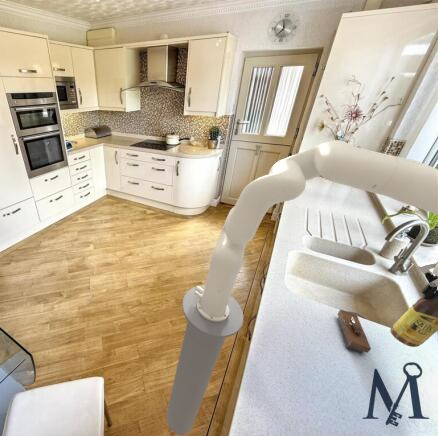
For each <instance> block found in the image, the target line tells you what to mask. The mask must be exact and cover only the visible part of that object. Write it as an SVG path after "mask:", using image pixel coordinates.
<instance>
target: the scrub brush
mask: <svg viewBox="0 0 438 436" xmlns="http://www.w3.org/2000/svg"><path fill="white" fill-rule="evenodd" d="M337 316H338V317H337V319H336V320H337V325H338V327H339V329H340V332H341V336H342V338H343V342H344V344H345V346H346V350H350V351H352V352H354V353H355V352H356V353H358V354H363V353H366V354H368V353H369V352H370V351H371V350H372V347H371V345H370V343H369V340H368V338H367V336H366V333H365V331H364V328H363V326H362V324H361V321H360V319H359V317H358V315H357V314H356V313H353V312H350V311H347V310H343V309H339V311H338V312H337Z"/></svg>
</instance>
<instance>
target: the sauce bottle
mask: <svg viewBox="0 0 438 436" xmlns="http://www.w3.org/2000/svg"><path fill="white" fill-rule="evenodd" d="M436 332H438V289H437V291H436V292H435V293H434V294H433V295H432V296H431V297H430V298H429V299H428V300H427V299H426V300H425V299H423V297H420V298H419V299H417V300H416V302H415V303H413V304H412V305H411V306H410V307H409V308H408V309H407V310H406V311H405V313H403V315H401V317H400V318H398V319H397V320H396V322H394V324H393V325H392V327H390V334H391V336H393V337H394V339H396V340H397V341H398V342H400V343H402V344H403V345H405V346H407V347H412V348H418V347H420V346H421V345H423V344H424V343H425V342H426V341H428V340H429V339H430V338H431V337H432V336H433V335H435V333H436Z"/></svg>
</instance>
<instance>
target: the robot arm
mask: <svg viewBox="0 0 438 436" xmlns="http://www.w3.org/2000/svg"><path fill="white" fill-rule="evenodd" d="M318 177H322V178H323V179H324V180H327V181H329V182H333V183H336V184H338V185H339V184H340V185H344V186H347V187H351V188H354V189H357V190H362V191H366V192H370V193H373V194H377V195H381V196H384V197H387V198H390V199H393V200H395V201H397V202H400V203H403V204H406V205H408V206H412V207H415V208H418V209H420V210H423V211H425V212H429V213H431V214H434V215H437V216H438V168H436V167H433V166H431V165H428V164H427V163H423V162H420V161H417V160H415V159H411V158H406V157H402V156H396V155H392V154H387V153H383V152H379V151H373V150H370V149H366V148H361V147H358V146H353V145H351V144H350V143H348V142H346V141H344V140H339V139H333V140H328V141H326V142H323V143H320V144H317V145H315V146H313V147H310V148H307V149H305V150H303V151H300V152H297V153H295V154H293V155H290V156H288V157H285V158H283V159H280V160H278V161H277V162H276V163H275V164H273V165H272V167H271V168H270V169H269V171H268V174H265V175H263V176H260V177H258V178H255V179H254V180H252V181H251V182H249V183H248V184H247V185H246V186H244V188H243V190H242V191H241V193H240V195H239V197H238V198H237V201H236V203H235V204H234V206H233V207H232V208H231V209H230V210H229V212H228V213H227V216H226V219H225V221H224V224H223V227H222V228H221V231H220V234H219V236H218V238H217V240H216V244H215V246H214V249H213V251H212V255H211V259H210V264H209V268H208V273H207V276H206V279H205V280H206V281H205V285H204V286H205V288H204V290H203V289H202V288H201V287H199V286H200V285H197V286H195V287H196V288H195V289H196V290H197V291H198V292H200V293H201V294H199V293H198V292H197V291H195V293H194V294H196V295H197V296H198V297H199V298H198V300H197V303H196V306H197V310H198V312H199V313H200V314H201V315H202V316H203V317H204V318H206V319H207V320H210V321H213V322H221V321H224V320H225V319H226V318H227V317H228V315H229V307H228V305H227V304H228V301H229V298H230V295H231V296H232V293H233V289H234V286H235V283H236V280H237V278H238V275H239V273H240V271H241V268H242V265H243V262H244V258H245V250H246V245H247V244H248V243H249V242H251V241H252V240H253V238H254V237H255V236H256V234H257V231H258V229H259V226H260V225H261V223H262V220H263V219H264V218H265V216H266V213H267V212H268V210H269V209H270V208H271V207H272V206H274V205H276V204H279V203H284V202H285V203H286V202H290V201H292V200H295V199H297V198H298V197H300V196H301V195H302V194H303V192H305V189H306V186H307V185H306V184H307V181H309V180H312V179H315V178H318ZM417 267H418V268H417V269H418V270H419V271H420V272H421V274H423V275H424V278H425V279H426V281H427V284H426V285H425V286H424V288H423V289H422V290H421V292H420V293H421V294H422V298H423V299H425V300H426V299H427V300H428V299H429V298H430V297H431V296H432V295H433V294H434V293H435V292H436V291H437V290H438V258H437V259H436V260H433V261H428V262H425V263H424V262H423V263H420V264H418V266H417ZM432 269H433V270H432ZM431 270H432V271H431Z"/></svg>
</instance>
